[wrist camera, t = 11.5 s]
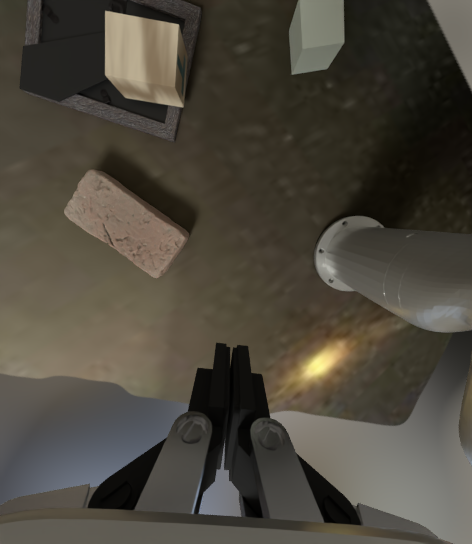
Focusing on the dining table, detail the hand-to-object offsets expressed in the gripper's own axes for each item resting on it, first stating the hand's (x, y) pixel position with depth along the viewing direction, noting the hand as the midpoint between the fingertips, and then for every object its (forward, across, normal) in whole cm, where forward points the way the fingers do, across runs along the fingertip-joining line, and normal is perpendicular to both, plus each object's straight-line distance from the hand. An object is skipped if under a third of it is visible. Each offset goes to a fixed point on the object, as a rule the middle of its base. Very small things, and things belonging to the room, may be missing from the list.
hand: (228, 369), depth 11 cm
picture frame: (+28, +20, -27) cm, 43 cm away
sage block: (+27, -7, -31) cm, 42 cm away
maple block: (+23, +9, -24) cm, 35 cm away
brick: (+28, +16, -4) cm, 32 cm away
